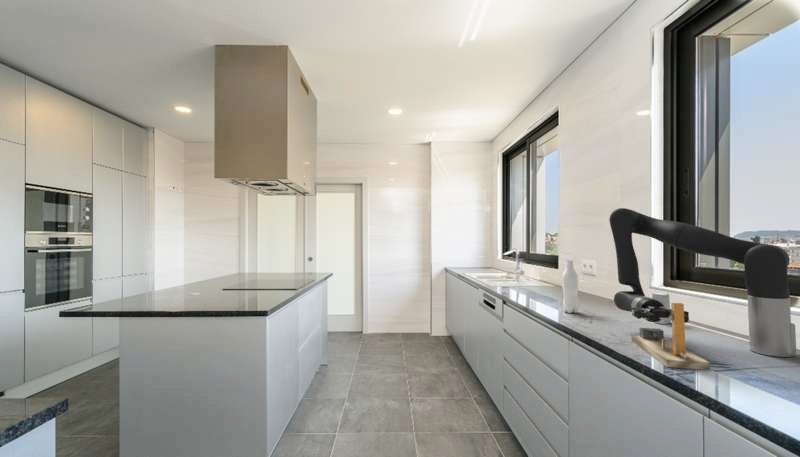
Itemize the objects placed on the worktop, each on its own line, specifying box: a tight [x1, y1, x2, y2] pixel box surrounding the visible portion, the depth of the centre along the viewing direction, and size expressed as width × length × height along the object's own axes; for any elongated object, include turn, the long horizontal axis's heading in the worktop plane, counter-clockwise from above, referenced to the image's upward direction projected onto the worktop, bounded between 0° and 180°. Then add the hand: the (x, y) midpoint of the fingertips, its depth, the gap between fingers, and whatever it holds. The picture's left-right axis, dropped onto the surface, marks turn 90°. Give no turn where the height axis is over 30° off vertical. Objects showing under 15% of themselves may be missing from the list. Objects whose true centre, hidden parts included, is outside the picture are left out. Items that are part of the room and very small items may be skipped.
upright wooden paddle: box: [662, 302, 689, 359], centre depth 105 cm, size 4×10×15 cm, turn 166°
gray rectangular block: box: [639, 327, 665, 340], centre depth 121 cm, size 6×6×3 cm
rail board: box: [631, 335, 710, 370], centre depth 112 cm, size 10×26×2 cm, turn 166°
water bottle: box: [561, 259, 580, 314], centre depth 175 cm, size 7×7×25 cm
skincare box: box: [651, 292, 672, 325], centre depth 152 cm, size 6×4×12 cm
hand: (669, 318), depth 109 cm, fingers open, 8 cm apart
